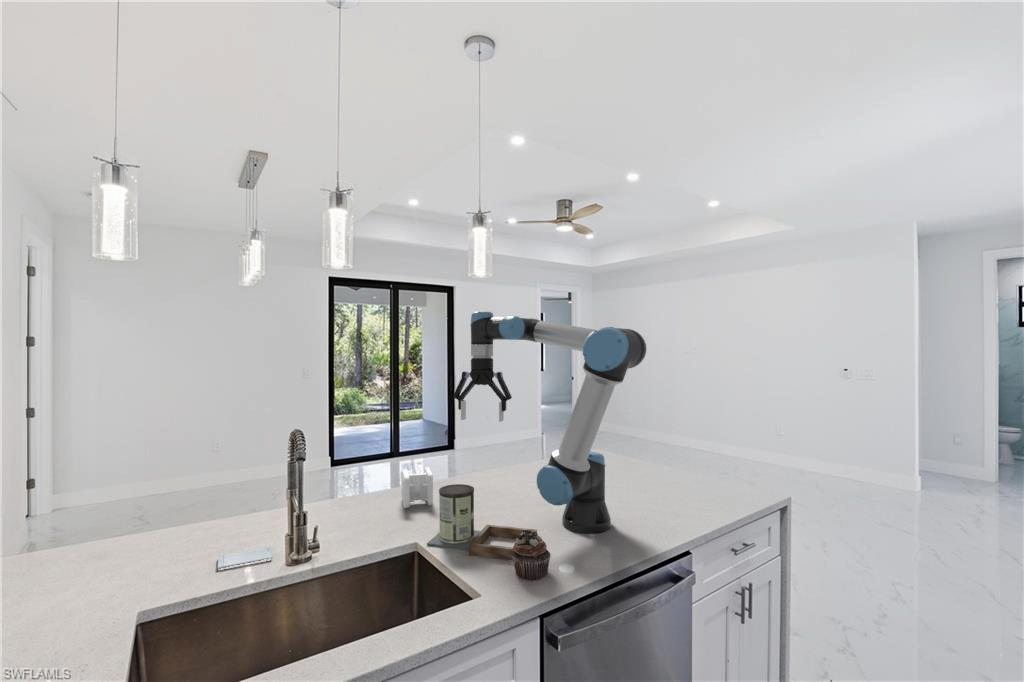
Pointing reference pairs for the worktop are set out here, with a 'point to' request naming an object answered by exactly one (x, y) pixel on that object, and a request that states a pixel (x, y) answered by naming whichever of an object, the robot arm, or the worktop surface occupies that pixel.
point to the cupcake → (530, 556)
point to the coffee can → (456, 513)
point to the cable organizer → (417, 487)
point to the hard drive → (244, 557)
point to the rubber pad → (439, 543)
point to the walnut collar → (494, 551)
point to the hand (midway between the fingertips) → (482, 420)
